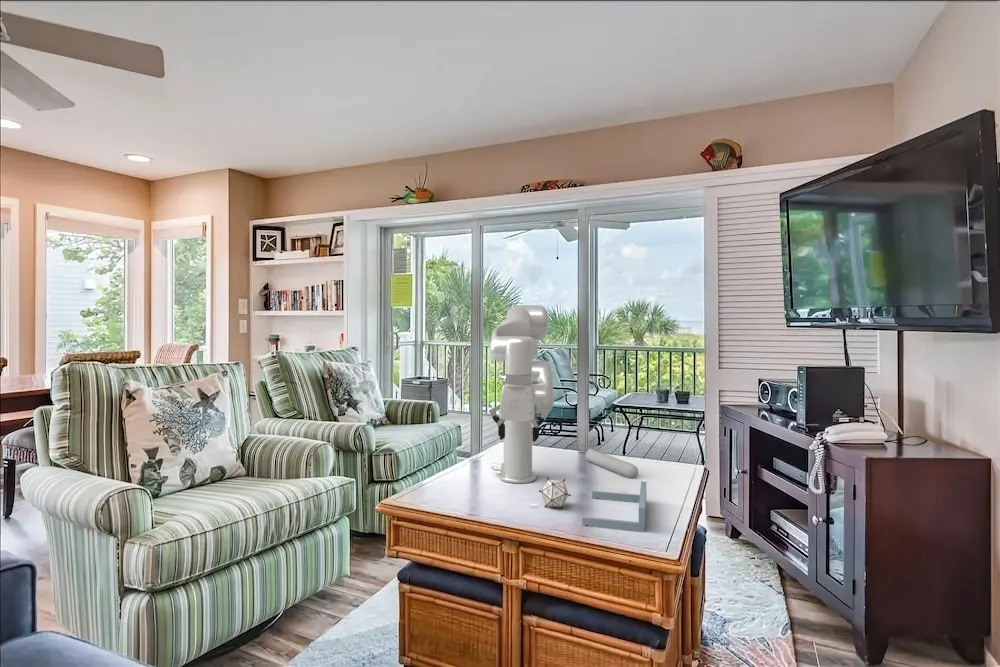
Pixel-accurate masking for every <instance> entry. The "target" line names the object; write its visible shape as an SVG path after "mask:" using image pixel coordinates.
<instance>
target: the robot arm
mask: <svg viewBox="0 0 1000 667" xmlns="http://www.w3.org/2000/svg"><path fill="white" fill-rule="evenodd" d="M549 319H550V318H549V313H548V311H547V309H546V308H545V307H544V306H543V305H538V304H537V305H528V304H523V305H522V304H521V305H514V306H512V307H510V308H509V309H508V310H507V312H506V316H505V319H503V320H502V321H501V322H500V323H499V326H497V327H496V328H494V330H493V331H492V334H491V337H490V343H489V344H490V345H489V350H490V356H491V357H492V359H493V360H495V361H498V362H505V375H501V376H500V381H503V382H504V384H503V385H502V387H501V393H500V404H499V405H496V406H495V407H492V408H491V409H489V413H490V416H491V417H492V418H491V419H492V420H493V421H494V422H495V423H496V425H497V426H498V430H497V434H498V435H497V436H498V437H499V440H500V441H502V440H503V463H501V464H500V463H499V464H498V463H492V465H491V469H492V470H493V471H494V472H497V471H498V472H499V474H498V478H499V480H501V481H503V482H506V483H511V484H525V483H531V482H534V481H536V480H537V474H536V473H535V472H534V471H533V443H535V442H536V441H537V440H538V439H539V438H540V426H542V424H543V423H544V422H545V421H546V420H547V417H548V416H549V413H550V412H551V411H552V410H553V409H554V403H555V398H554V397H555V396H554V395H555V394H554V393H555V392H554V383H553V372H552V368H551V365H550V364H549V363H548V362H547V361H544V360H534V359H535V358H536V357H537V355H538V350H539V347H538V342H537V341H543V340H545V339H546V337H547V335H548V334H547V333H548V328H549ZM498 411H499V416H498V415H497V412H498ZM537 414H541V417H540V419H538V418H537Z"/></svg>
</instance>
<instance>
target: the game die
mask: <svg viewBox="0 0 1000 667" xmlns="http://www.w3.org/2000/svg"><path fill="white" fill-rule="evenodd" d="M546 479H547V481H546V483H545V485H544V486H543V488H542V489H539V490H538V492H539V493H541V494H542V498H543V501H544V502H545V505H544V508H547V506H549V507H558V508H560V509H561V510H562V509H563V510H564V507H563V506H564V504H565V502H566V500H567V499H568V498H569V497H571V496H572V494H570V493H569V492H568V489H567V486H566V483H565V481H566V478H564V479H563V480H556V479H550V477H548V476H547V477H546Z"/></svg>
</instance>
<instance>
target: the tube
mask: <svg viewBox="0 0 1000 667" xmlns="http://www.w3.org/2000/svg"><path fill="white" fill-rule="evenodd" d="M585 461H587V462H588V463H591V462H592V463H591V464H593V463H594V465H596V464H597V465H596V466H598V465H599V466H598V467H601V466H602V467H601V468H603V467H604V468H603V469H605V468H607V469H606V470H608V469H609V470H608V471H610V470H611V471H610V472H613V471H614V472H613V473H615V472H616V473H615V474H618V473H619V474H618V475H620V474H621V475H620V476H623V477H625V478H627V477H628V479H635V478H636V477H637V476H638V475H639V469H638V467H637V466H636V465H635V464H633V463H630V462H627V461H625V460H623V459H620V458H618V457H615V456H612V455H609V454H606V453H604V452H601V451H599V450H596V449H594V448H588V450H586V453H585Z"/></svg>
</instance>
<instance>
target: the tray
mask: <svg viewBox="0 0 1000 667" xmlns="http://www.w3.org/2000/svg"><path fill="white" fill-rule="evenodd" d="M639 490H640V491H639V494H635V493H623V492H614V491H613V492H611V491H598V490H592V491H591V499H594V498H599V499H598V500H604V499H610V500H609V501H615V500H619V501H618V502H625V501H626V503H638V521H632V520H630V521H629V520H622V519H621V520H620V519H610V518H603V517H602V518H601V517H592V516H582V524H581V525H582V526H583V525H589V526H588V527H593V526H597V527H596V528H602V527H604V529H611V528H612V529H611V530H620V531H621V530H622V531H632V532H639V533H645V531H646V516H647V481H643V480H642V481H640V489H639Z"/></svg>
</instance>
